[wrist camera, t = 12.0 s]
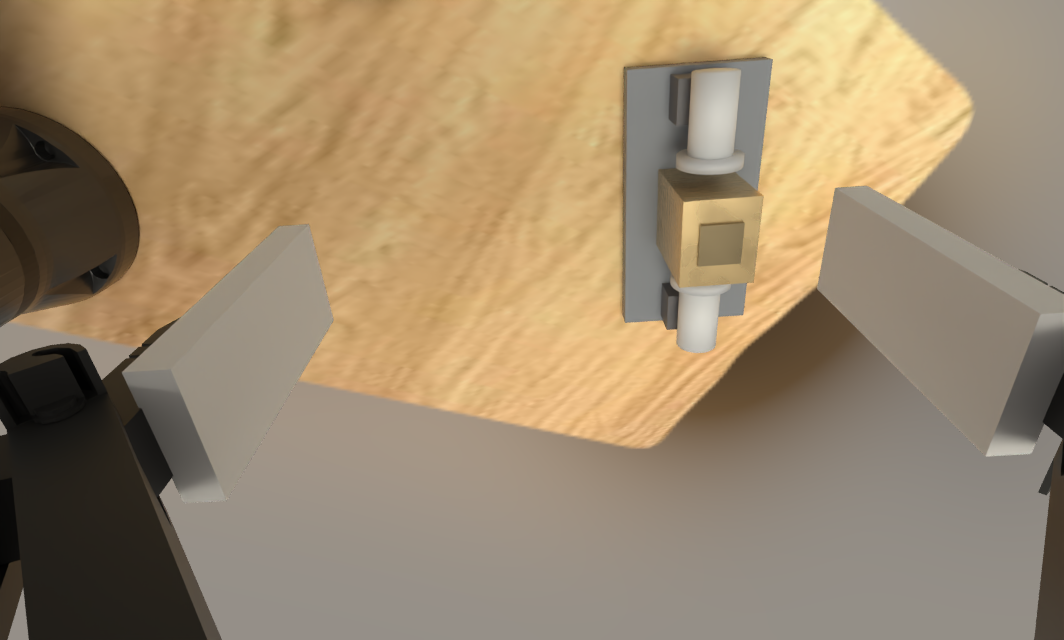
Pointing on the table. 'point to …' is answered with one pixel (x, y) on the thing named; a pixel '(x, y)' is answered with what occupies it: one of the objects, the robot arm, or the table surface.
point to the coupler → (708, 227)
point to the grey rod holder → (693, 147)
